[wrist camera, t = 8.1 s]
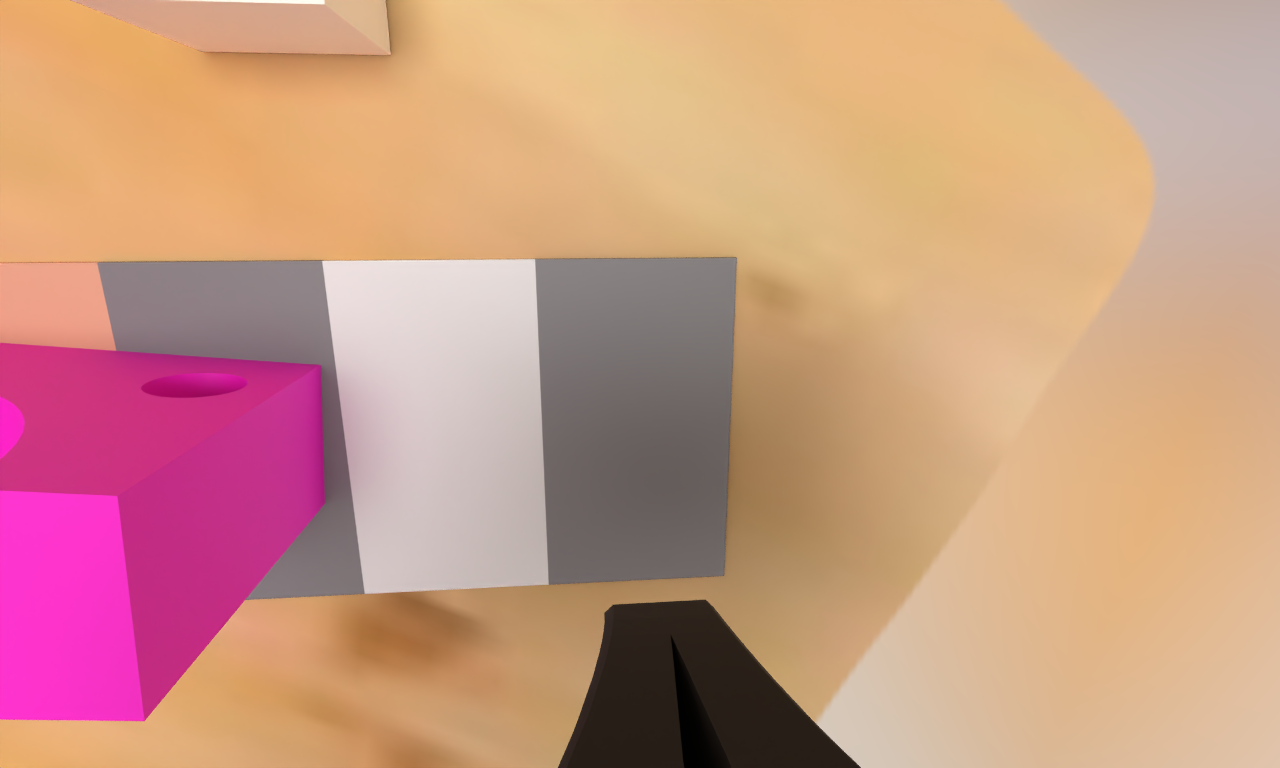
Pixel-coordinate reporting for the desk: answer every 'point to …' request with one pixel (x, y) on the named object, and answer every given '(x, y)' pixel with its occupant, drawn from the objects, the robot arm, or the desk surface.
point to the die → (260, 24)
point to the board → (456, 404)
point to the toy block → (139, 515)
